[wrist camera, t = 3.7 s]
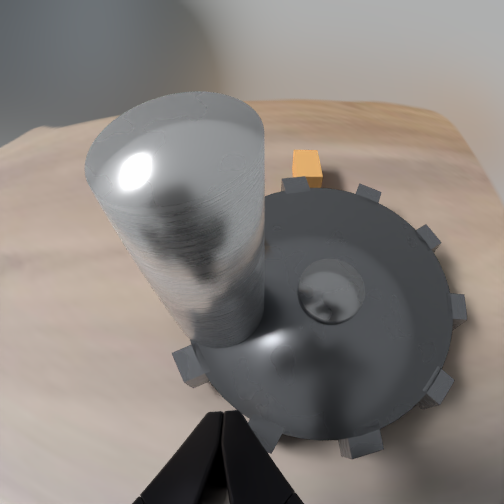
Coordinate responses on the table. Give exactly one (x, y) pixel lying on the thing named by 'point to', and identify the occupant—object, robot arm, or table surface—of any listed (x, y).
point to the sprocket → (276, 275)
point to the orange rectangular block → (308, 167)
